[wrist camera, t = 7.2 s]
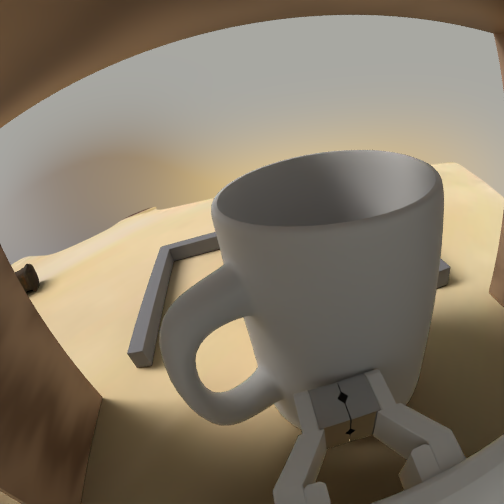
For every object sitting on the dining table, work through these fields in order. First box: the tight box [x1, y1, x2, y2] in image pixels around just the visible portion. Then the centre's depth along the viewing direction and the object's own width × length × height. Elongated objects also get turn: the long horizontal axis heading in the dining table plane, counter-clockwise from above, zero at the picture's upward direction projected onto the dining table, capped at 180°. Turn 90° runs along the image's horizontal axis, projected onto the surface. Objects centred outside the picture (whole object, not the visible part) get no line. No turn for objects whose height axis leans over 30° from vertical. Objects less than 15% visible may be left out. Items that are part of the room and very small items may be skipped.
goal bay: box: [127, 232, 450, 368], centre depth 26 cm, size 16×23×2 cm
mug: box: [159, 150, 444, 429], centre depth 12 cm, size 12×8×11 cm
